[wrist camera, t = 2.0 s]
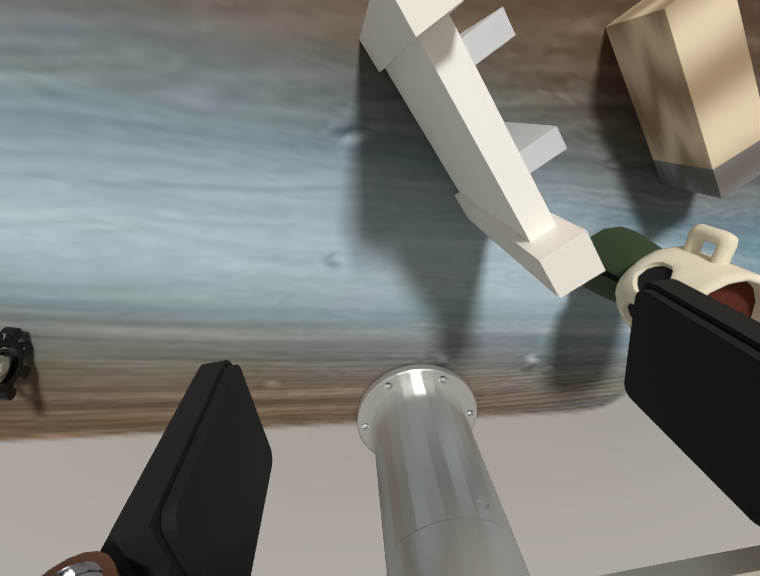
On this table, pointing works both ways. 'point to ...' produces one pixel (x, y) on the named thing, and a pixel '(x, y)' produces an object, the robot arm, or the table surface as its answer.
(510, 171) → the white stand
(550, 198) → the table surface
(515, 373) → the table surface
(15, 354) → the valve
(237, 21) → the table surface
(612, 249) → the character mug
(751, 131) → the beige block
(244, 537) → the robot arm
